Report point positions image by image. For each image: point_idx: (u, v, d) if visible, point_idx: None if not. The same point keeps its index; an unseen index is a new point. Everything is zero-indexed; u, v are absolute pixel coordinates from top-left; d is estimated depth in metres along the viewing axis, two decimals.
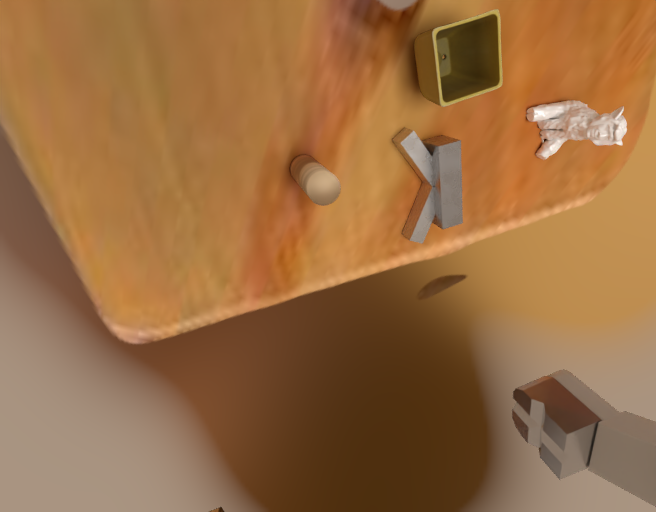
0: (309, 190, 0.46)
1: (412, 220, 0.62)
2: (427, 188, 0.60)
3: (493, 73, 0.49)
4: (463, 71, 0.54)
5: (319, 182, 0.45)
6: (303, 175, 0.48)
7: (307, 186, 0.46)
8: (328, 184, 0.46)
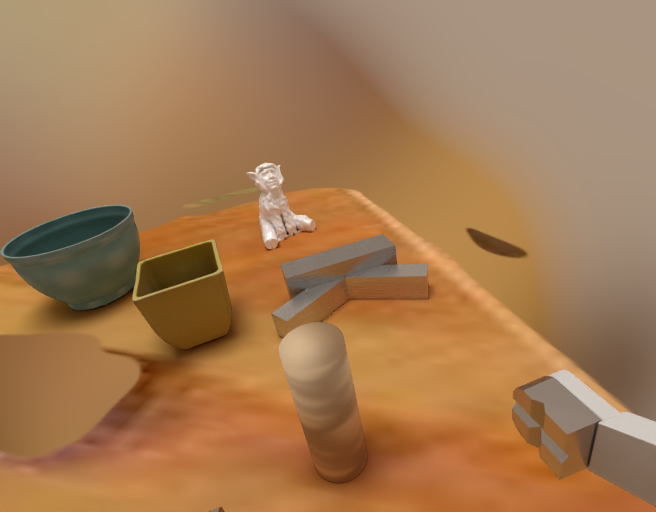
0: (312, 364, 0.22)
1: (401, 287, 0.43)
2: (351, 285, 0.45)
3: (202, 253, 0.45)
4: None
5: (297, 353, 0.23)
6: (307, 407, 0.23)
7: (307, 373, 0.22)
8: (302, 339, 0.24)
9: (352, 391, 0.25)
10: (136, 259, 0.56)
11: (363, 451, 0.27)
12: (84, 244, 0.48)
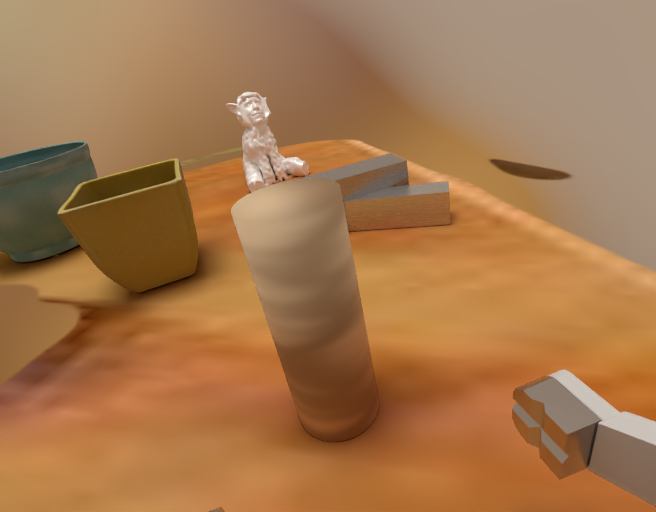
0: (284, 216, 0.12)
1: (415, 210, 0.34)
2: (351, 211, 0.35)
3: (163, 175, 0.36)
4: None
5: (261, 208, 0.13)
6: (280, 305, 0.14)
7: (277, 232, 0.12)
8: (272, 195, 0.14)
9: (355, 286, 0.15)
10: None
11: (373, 393, 0.18)
12: (18, 171, 0.38)
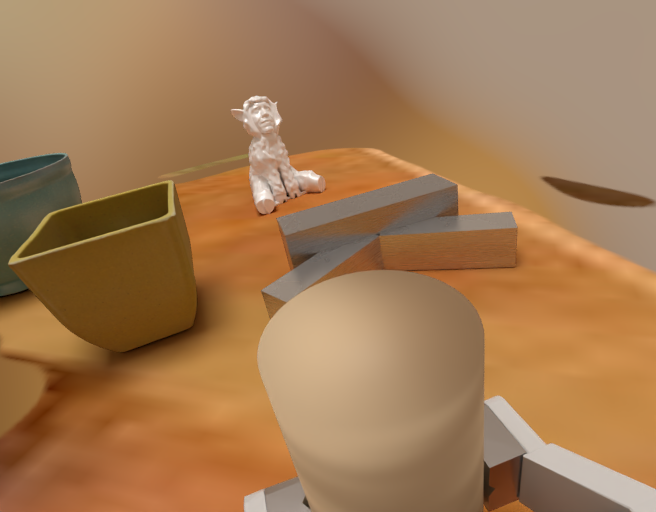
0: (385, 409, 0.05)
1: (470, 249, 0.27)
2: (388, 248, 0.28)
3: (155, 201, 0.29)
4: None
5: (321, 362, 0.07)
6: None
7: (367, 444, 0.06)
8: (334, 318, 0.07)
9: None
10: None
11: None
12: None
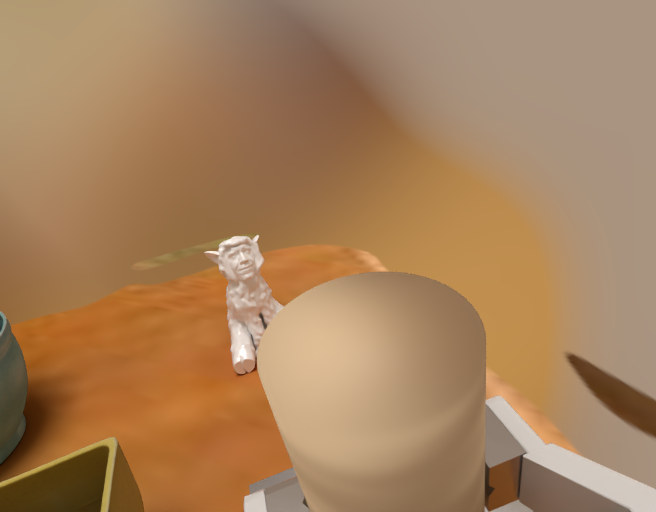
0: (386, 414, 0.05)
1: None
2: None
3: (94, 465, 0.23)
4: None
5: (321, 365, 0.06)
6: None
7: (368, 449, 0.05)
8: (334, 321, 0.07)
9: None
10: (14, 411, 0.33)
11: None
12: None
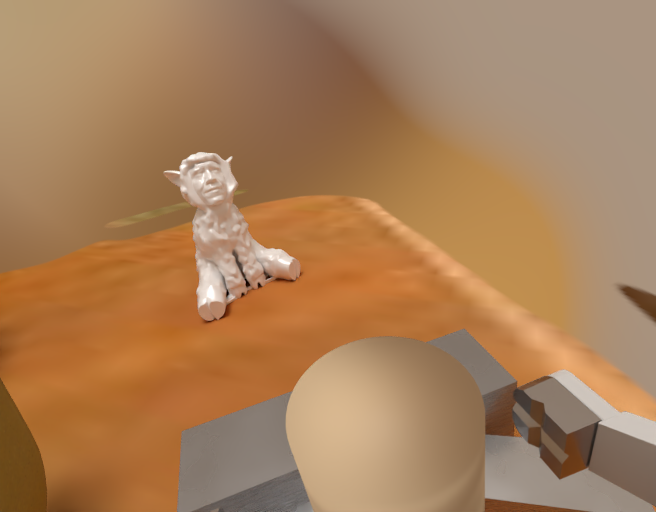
0: (401, 487, 0.06)
1: None
2: None
3: None
4: None
5: (343, 436, 0.07)
6: None
7: None
8: (352, 388, 0.08)
9: None
10: None
11: None
12: None
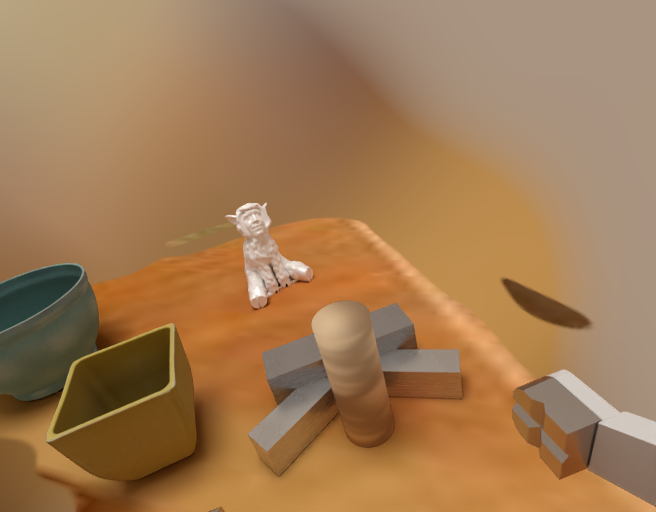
0: (342, 336, 0.25)
1: (424, 384, 0.32)
2: None
3: (160, 341, 0.35)
4: None
5: (328, 327, 0.26)
6: (339, 375, 0.26)
7: (339, 344, 0.25)
8: (332, 316, 0.27)
9: (378, 361, 0.27)
10: (92, 333, 0.46)
11: (390, 418, 0.30)
12: (13, 331, 0.37)
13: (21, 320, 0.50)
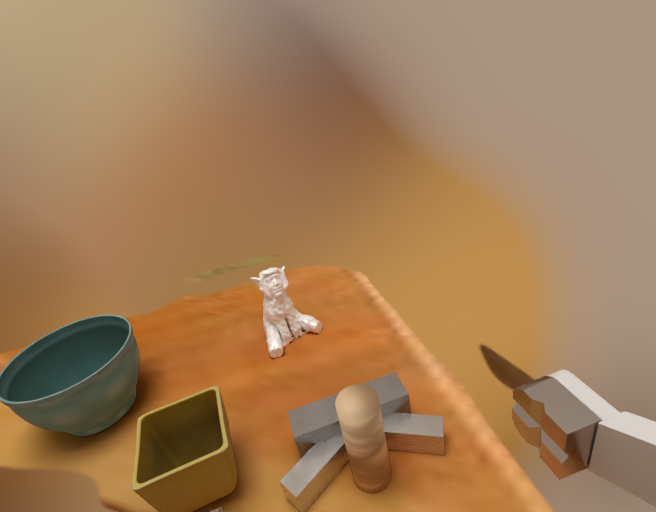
0: (359, 417, 0.34)
1: (415, 443, 0.41)
2: None
3: (206, 400, 0.43)
4: (218, 437, 0.45)
5: (348, 408, 0.35)
6: (354, 443, 0.35)
7: (356, 423, 0.34)
8: (350, 398, 0.36)
9: (383, 431, 0.36)
10: (136, 378, 0.54)
11: (389, 471, 0.39)
12: (81, 384, 0.45)
13: (70, 362, 0.58)
